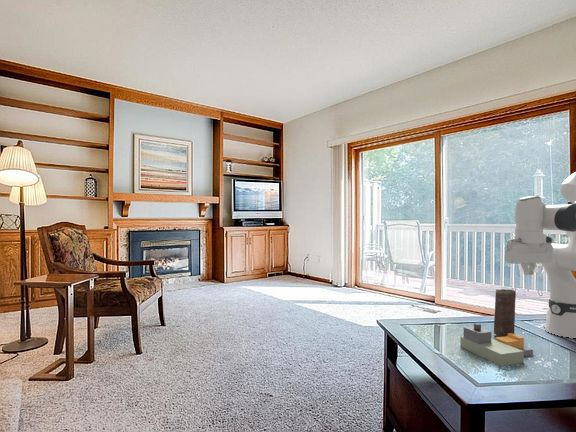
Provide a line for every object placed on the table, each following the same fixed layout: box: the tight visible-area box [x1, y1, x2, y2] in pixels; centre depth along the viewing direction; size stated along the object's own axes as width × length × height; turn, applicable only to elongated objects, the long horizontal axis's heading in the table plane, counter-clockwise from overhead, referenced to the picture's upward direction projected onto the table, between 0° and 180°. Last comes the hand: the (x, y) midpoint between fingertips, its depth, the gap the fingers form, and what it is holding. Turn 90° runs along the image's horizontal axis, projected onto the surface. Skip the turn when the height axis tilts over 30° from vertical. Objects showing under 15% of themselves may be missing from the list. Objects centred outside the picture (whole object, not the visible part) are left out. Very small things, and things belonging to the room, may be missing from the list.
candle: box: [493, 288, 517, 337], centre depth 146 cm, size 8×7×20 cm
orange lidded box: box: [494, 333, 525, 350], centre depth 130 cm, size 8×5×6 cm, turn 106°
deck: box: [460, 322, 534, 367], centre depth 129 cm, size 20×18×10 cm
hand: (528, 274), depth 132 cm, fingers closed
